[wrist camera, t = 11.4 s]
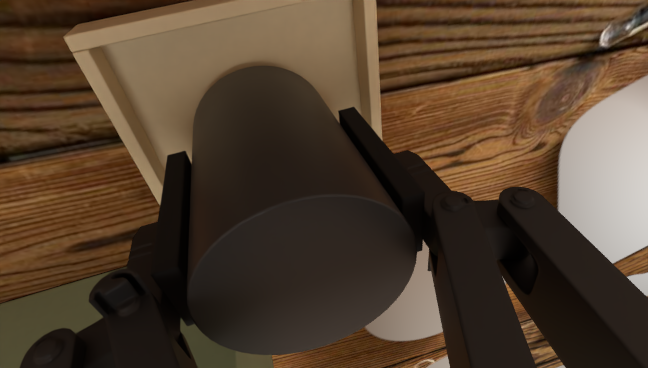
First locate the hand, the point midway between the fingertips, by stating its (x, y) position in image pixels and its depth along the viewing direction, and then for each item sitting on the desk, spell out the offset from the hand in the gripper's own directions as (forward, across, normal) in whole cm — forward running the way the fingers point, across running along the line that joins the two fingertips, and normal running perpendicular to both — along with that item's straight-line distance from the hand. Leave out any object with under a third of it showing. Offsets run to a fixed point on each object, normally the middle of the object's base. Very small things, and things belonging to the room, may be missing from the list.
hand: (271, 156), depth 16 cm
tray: (+4, 0, 0) cm, 4 cm away
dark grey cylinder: (+3, 0, 0) cm, 3 cm away
